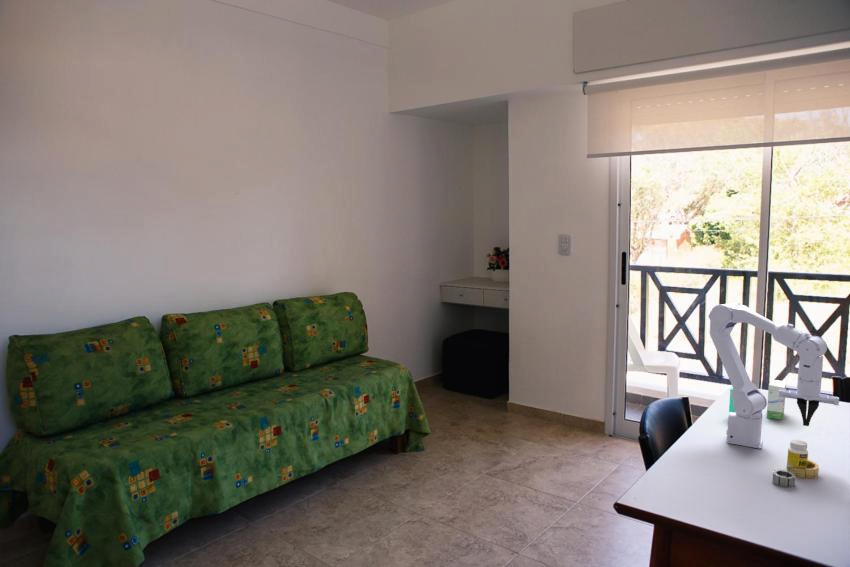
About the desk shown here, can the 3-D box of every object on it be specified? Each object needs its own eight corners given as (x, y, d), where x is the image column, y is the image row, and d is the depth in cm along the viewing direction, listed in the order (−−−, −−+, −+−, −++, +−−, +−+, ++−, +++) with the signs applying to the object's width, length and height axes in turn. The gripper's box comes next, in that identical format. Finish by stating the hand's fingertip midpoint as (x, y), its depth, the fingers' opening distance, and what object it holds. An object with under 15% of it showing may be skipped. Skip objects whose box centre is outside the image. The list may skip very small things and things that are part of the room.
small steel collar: (772, 484, 160) (772, 475, 160) (772, 477, 165) (773, 468, 164) (794, 489, 158) (795, 480, 157) (794, 481, 162) (795, 472, 162)
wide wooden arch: (787, 475, 166) (787, 466, 166) (787, 464, 173) (787, 455, 172) (818, 481, 162) (819, 472, 162) (817, 469, 169) (818, 461, 169)
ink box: (782, 420, 207) (785, 387, 206) (766, 417, 210) (768, 384, 208) (784, 413, 214) (786, 380, 213) (768, 410, 217) (770, 378, 215)
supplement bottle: (799, 476, 165) (802, 446, 164) (782, 469, 169) (784, 440, 168) (810, 472, 167) (812, 443, 166) (793, 466, 171) (795, 437, 170)
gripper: (779, 378, 173) (776, 424, 175) (840, 386, 166) (836, 434, 167) (780, 373, 179) (777, 417, 181) (839, 380, 172) (835, 426, 173)
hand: (806, 424), depth 175 cm, fingers closed
